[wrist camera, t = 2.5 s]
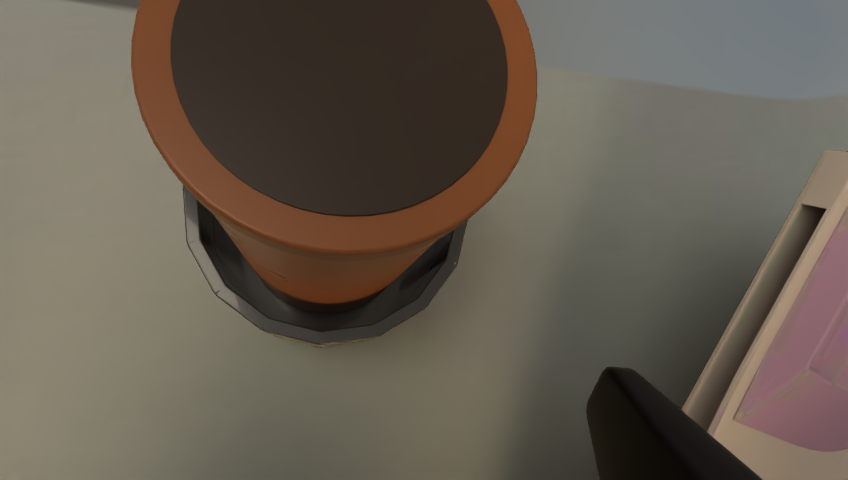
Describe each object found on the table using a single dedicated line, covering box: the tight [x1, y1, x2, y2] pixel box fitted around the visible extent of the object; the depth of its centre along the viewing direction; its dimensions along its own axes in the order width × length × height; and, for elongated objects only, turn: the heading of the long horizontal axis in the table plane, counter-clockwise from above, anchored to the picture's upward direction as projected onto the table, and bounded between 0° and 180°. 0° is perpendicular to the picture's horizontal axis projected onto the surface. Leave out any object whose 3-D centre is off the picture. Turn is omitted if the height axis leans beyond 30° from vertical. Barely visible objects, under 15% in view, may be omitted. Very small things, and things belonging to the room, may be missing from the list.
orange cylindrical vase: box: [131, 0, 537, 314], centre depth 13 cm, size 6×6×12 cm
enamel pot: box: [183, 185, 468, 348], centre depth 17 cm, size 8×8×5 cm
